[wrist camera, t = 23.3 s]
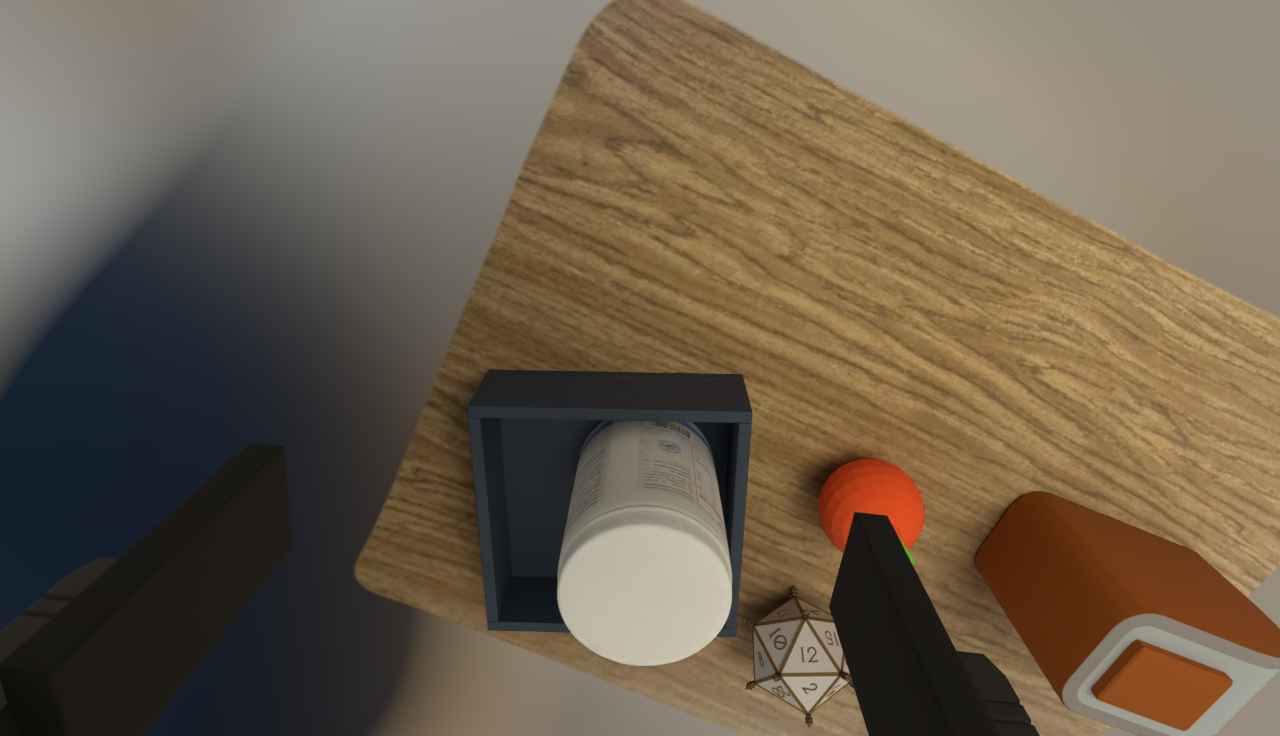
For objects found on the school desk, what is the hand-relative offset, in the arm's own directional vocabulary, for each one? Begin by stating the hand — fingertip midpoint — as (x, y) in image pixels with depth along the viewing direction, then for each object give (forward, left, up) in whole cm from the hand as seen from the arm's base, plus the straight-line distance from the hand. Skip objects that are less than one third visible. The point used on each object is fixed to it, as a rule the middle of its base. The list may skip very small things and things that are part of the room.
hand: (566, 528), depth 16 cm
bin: (+18, -1, -32) cm, 36 cm away
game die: (+30, +13, -32) cm, 46 cm away
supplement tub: (+16, +1, -31) cm, 35 cm away
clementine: (+18, +17, -32) cm, 40 cm away
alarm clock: (+24, +34, -32) cm, 52 cm away
